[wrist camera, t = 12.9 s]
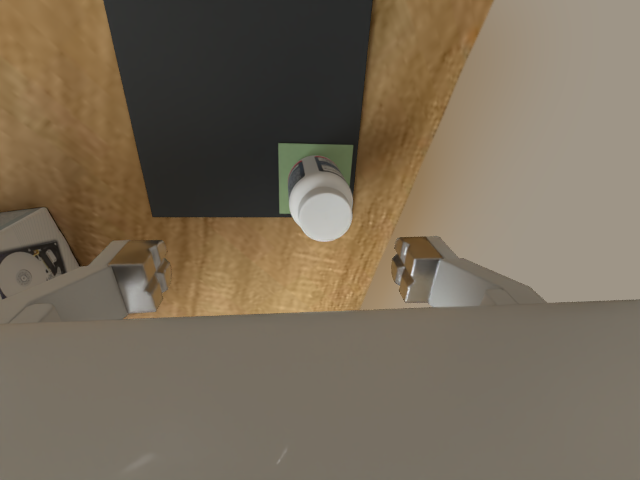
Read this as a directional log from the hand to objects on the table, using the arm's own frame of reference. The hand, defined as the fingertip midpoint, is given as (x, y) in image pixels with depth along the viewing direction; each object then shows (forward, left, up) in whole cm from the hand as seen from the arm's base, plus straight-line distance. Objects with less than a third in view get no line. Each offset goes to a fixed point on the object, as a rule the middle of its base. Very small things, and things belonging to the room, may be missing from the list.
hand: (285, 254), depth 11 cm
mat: (-2, -3, -20) cm, 21 cm away
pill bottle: (+4, +3, -20) cm, 20 cm away
